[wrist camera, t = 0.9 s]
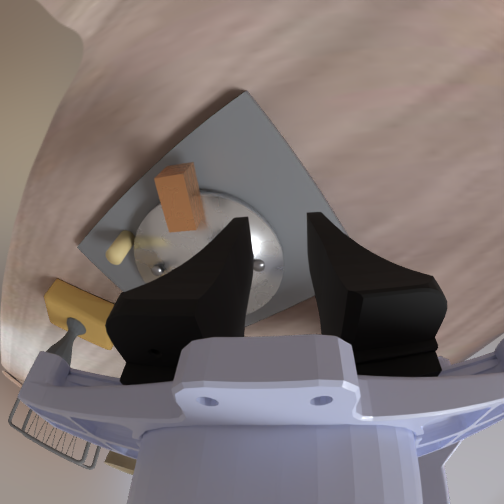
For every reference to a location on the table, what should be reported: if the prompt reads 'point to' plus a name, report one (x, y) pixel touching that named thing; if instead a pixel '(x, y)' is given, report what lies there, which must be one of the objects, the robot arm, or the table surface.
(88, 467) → the newton's cradle
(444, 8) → the table surface
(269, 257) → the flange plate
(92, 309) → the rubber stamp
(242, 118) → the base board
